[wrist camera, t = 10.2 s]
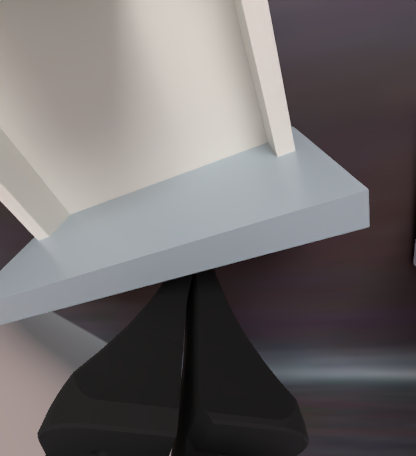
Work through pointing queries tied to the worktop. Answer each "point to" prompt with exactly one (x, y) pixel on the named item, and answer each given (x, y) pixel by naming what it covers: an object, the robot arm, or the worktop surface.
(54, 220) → the tray
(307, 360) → the worktop surface
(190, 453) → the robot arm
